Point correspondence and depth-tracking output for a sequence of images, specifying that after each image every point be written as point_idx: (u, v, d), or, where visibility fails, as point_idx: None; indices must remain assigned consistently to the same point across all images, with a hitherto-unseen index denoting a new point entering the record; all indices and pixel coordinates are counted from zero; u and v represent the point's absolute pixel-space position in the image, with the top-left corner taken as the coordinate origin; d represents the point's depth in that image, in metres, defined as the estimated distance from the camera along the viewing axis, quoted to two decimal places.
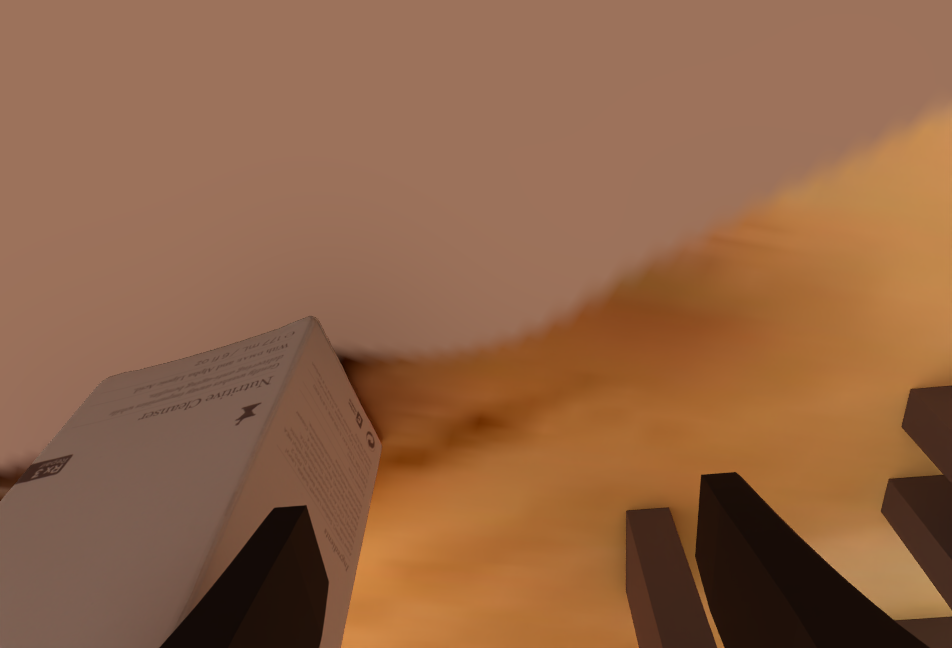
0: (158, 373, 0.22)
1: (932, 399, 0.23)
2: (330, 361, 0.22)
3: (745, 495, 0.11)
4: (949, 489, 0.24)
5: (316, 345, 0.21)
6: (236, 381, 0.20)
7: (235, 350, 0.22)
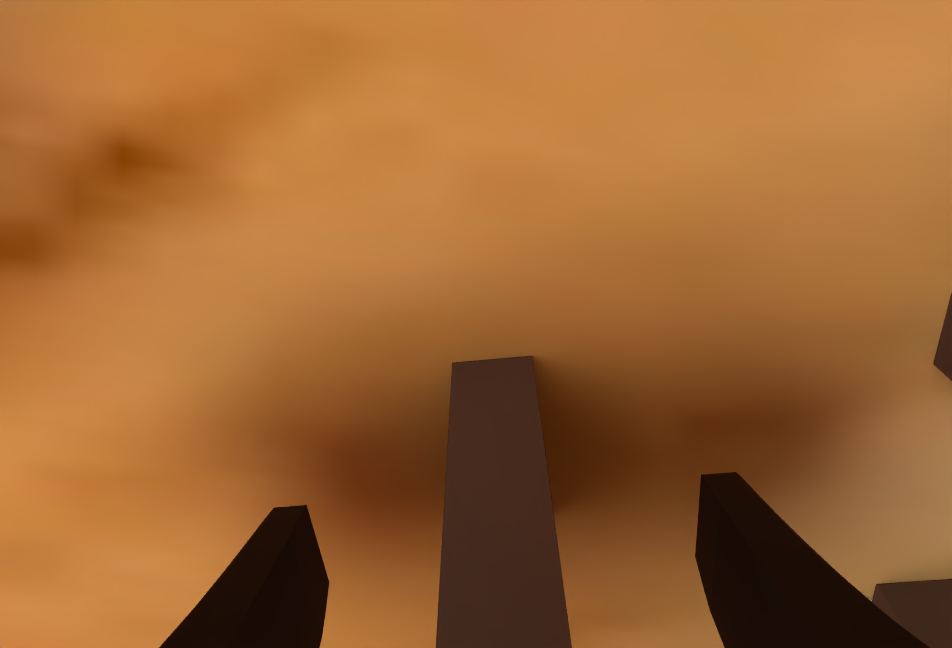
0: None
1: None
2: None
3: (745, 495, 0.11)
4: None
5: None
6: None
7: None
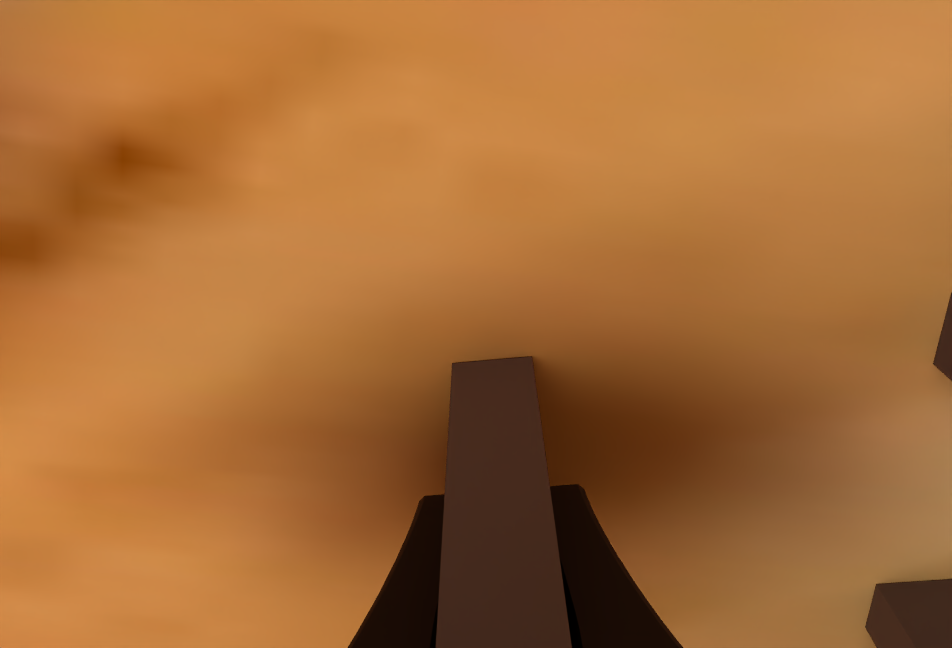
0: None
1: None
2: None
3: (575, 508, 0.11)
4: None
5: None
6: None
7: None
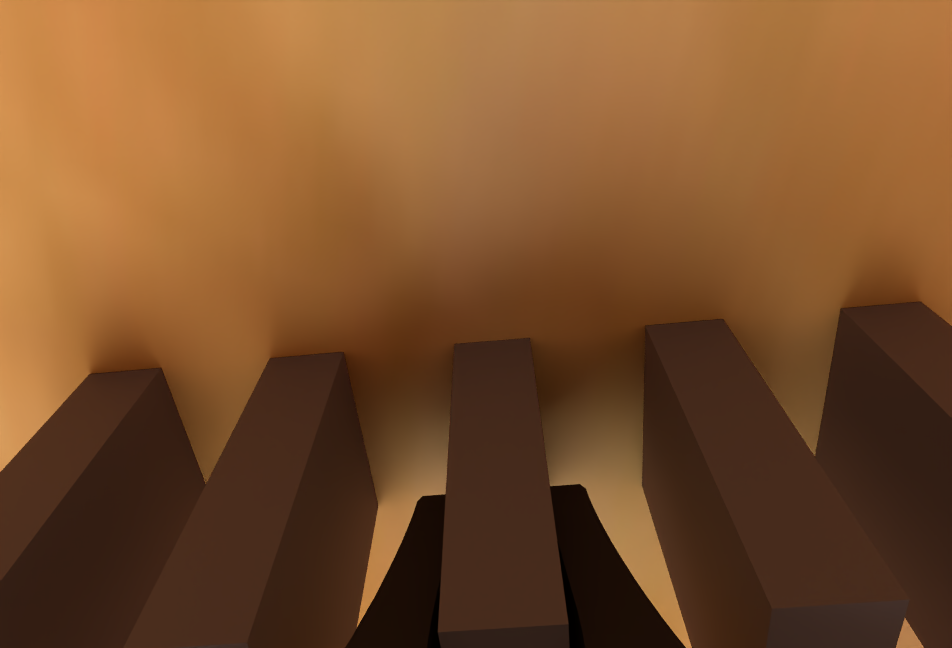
0: None
1: None
2: None
3: (577, 508, 0.11)
4: None
5: None
6: None
7: None
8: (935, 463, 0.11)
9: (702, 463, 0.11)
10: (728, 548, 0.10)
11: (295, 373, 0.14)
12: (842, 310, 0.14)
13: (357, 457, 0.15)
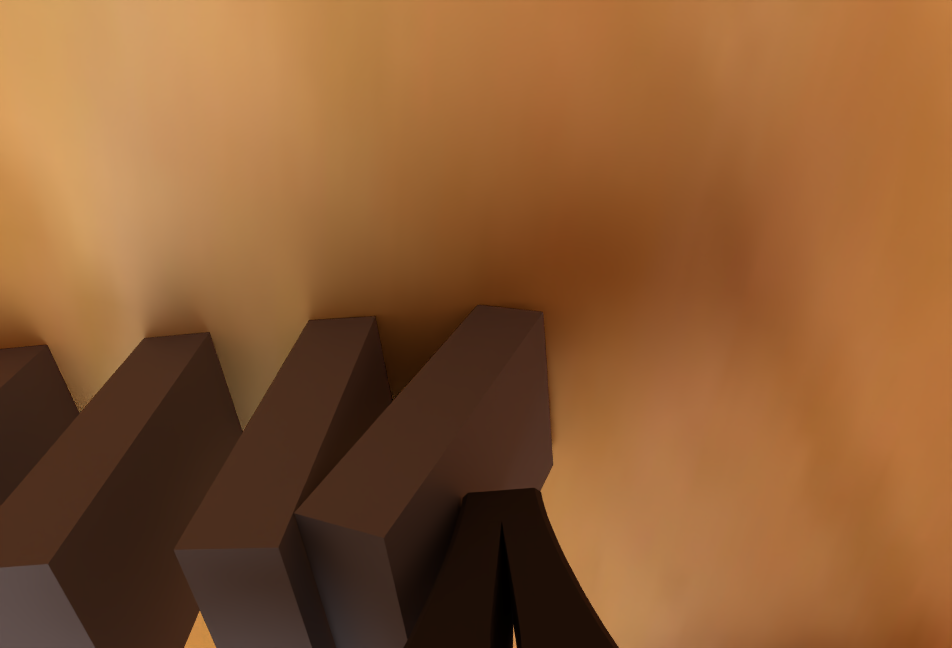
0: None
1: None
2: None
3: (529, 511, 0.11)
4: None
5: None
6: None
7: None
8: None
9: (247, 438, 0.13)
10: None
11: None
12: (477, 306, 0.16)
13: None
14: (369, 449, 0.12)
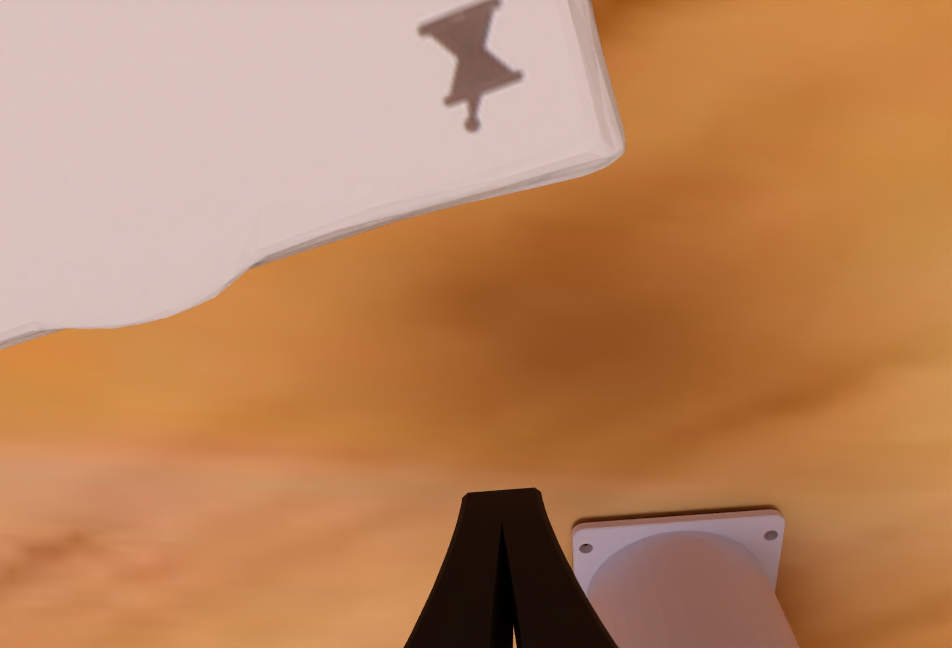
0: None
1: None
2: None
3: (529, 511, 0.11)
4: None
5: None
6: None
7: None
8: None
9: None
10: None
11: None
12: None
13: None
14: None
